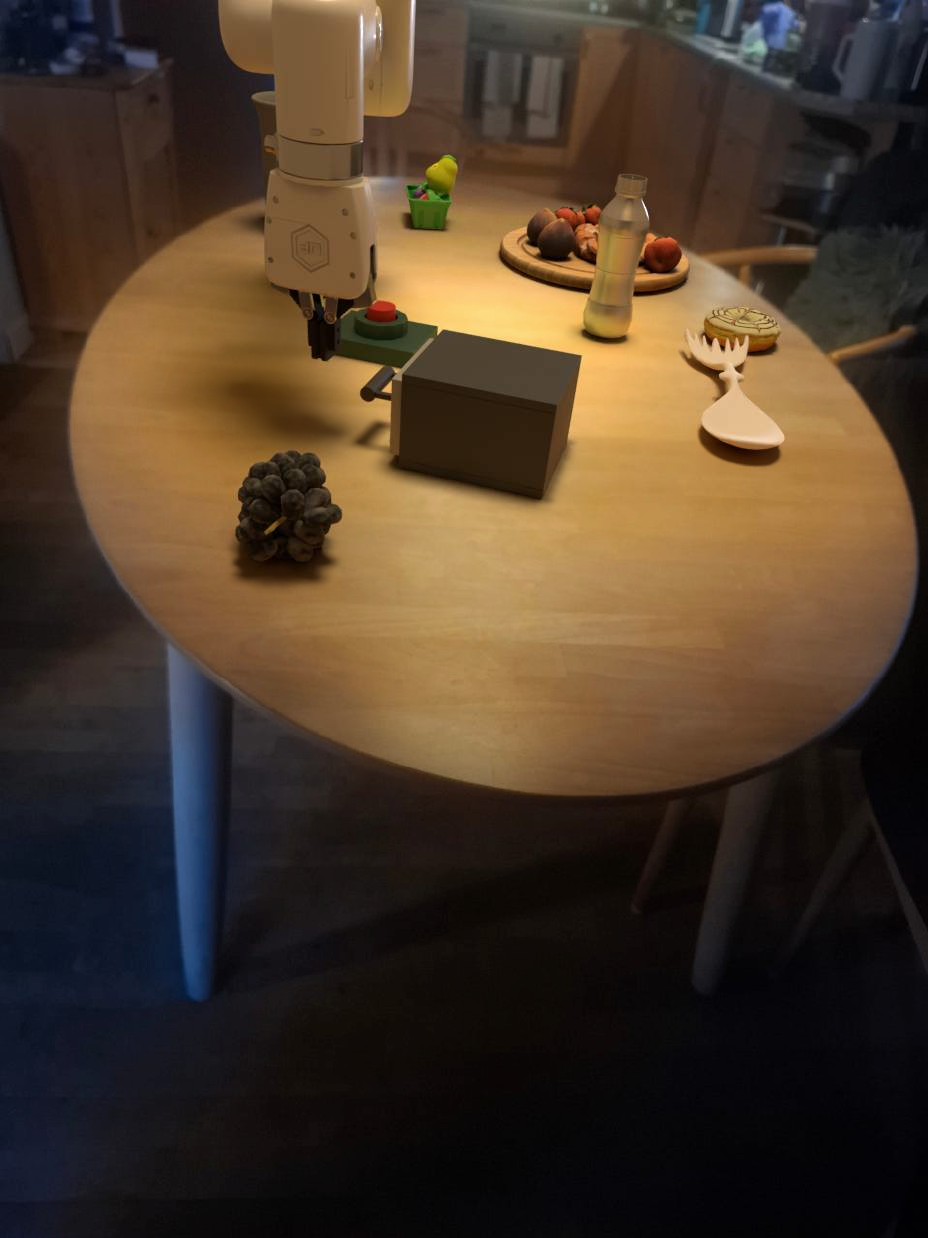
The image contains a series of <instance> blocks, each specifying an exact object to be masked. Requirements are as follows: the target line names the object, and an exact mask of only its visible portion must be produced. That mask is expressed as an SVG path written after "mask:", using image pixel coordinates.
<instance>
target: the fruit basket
mask: <svg viewBox="0 0 928 1238" xmlns="http://www.w3.org/2000/svg"><path fill="white" fill-rule="evenodd" d="M456 161H457V159H456V158H455V157H453V156H452V155H451V154H445V155H443V156H442V157H440V160H439V161H438V162H436V163H434V164H432V165H431V166H429V167H428V168H427V169H426V171H425V176H426V180H427V181H426V182H424V181H422V182H421V184H405V190H406V195H407V199H408V204H409V210H410V215H411V220H412V224H413V228H414V229H424V230H443V229H444V226H445V223H446V218H447V215H448V212H449V209H450V207H451V204H452V201H453V200H452V198H451V195H450V193H452V191H453V190H454V188H455V185H456V178H457V174H458V171H459V170H458V169H459V168H458V164H457V163H456Z"/></svg>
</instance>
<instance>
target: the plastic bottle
mask: <svg viewBox="0 0 928 1238" xmlns="http://www.w3.org/2000/svg"><path fill="white" fill-rule="evenodd" d="M647 184H648V178H647V177H646V176H643V175H638V174H634V173H633V174H632V173H620V174H618V176H617V180H616V185H615V187H614V193H616V194H615V197H613V198H612V199H611V201H609V202H608V203H607V205H605V207H604V208H603V210H601V215H600V217H599V222H598V249H597V258H596V262H597V264H596V267H595V274H594V278H593V282H592V287H591V289H590V291H589V296H588V297H587V300H586V303H585V306H584V309H583V312H582V314H583V317H582V318H583V326H584V329H585V330H586V332H588V333H589V334H591V335H594V336H597V337H600V338H605V339H606V338H607V339H615V338H616V339H618V338H621V337H623V336H625V334H626V333H627V332H628V331H629V329H630V327H631V324H632V320H633V310H634V309H633V308H634V305H633V298H634V292H633V291H634V282H635V276H636V272H637V270H636V269H637V267H638V263H639V259H640V255H641V252H642V249H643V246H644V243H645V240H646V237H647V234H649V230H650V226H651V224H650V216H649V213H648V210H647V207H646V206H645V203H644V201H643V197H645V196H646V194H647Z"/></svg>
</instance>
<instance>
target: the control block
mask: <svg viewBox="0 0 928 1238" xmlns="http://www.w3.org/2000/svg"><path fill="white" fill-rule="evenodd" d="M438 332H439V326H438V325H433V324H429V323H423V322H417V321H412V320H409V318H408V316H407V314H406V313H405V312H402V311H400V310H398V309H396V320H395V321H392V322H375V321H370V320H368V319H367V308H359V309H358V310H355V309H350V310H349V311H348V312H346V313H345V314H344V315H343V316H341V347H340V349H339V351H337V353H336V354H335V355H334V356H340V357H344V358H349V359H355V360H358V361H364V362H368V363H369V362H370V363H374V364H379V365H383V366H390V367H395V368H400V369H402V367H403V366H404V365H405V364H406V363H407V362H408V361H409V360H410V359H411V358H412V357H413V356H414V355H415V354H416V352H417V351H418V350H419V349H420V348H421V347H422V346H423V345H424V344H425V343H426V342H427V341H428V340H429V338H432V339H435V338H436V337H437V335H438V334H439V333H438Z"/></svg>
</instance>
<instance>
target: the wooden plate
mask: <svg viewBox="0 0 928 1238" xmlns="http://www.w3.org/2000/svg"><path fill="white" fill-rule="evenodd" d="M601 213H602V209H601V208H600V207H599V206H597V204H593V203H588V204H585V205H583V206H582V207H581V210H579V209H577V208H574V207H573V206H572V207H571V206H570V207H568V206H563V205H562V206H561V207H560V208H559V209H557V210H555V211H551V210H550V209H549V208H548V207H545V208H543V209H541V210H539V211H538V212H536V213H535V214H534V215H533V216H532V217H531V219H530V220H529V221H528V224H527V226H524V227H520V228H516V229H514V230H512V231H510V232H508V233H506V235H504V236H503V237H502V239H501V241H500V244H499V251H500V255H501V257H502V258H503V259H504V261H505V262H506V263H508V264H509V265H510V266H511V267H513V268H515V269H517V270H519V271H520V272H522V273H525V274H527V275H530V276H531V277H535V278H538V279H540V280H542V281H547V282H550V283H553V284H558V285H562V286H567V287H572V288H577V289H585V290H591V287H592V282H593V278H594V274H595V267H596V264H597V262H596V258H597V249H598V222H599V217H600V215H601ZM682 251H683V250H682V249H681V247H680V245H679V241H678V240H677V239H674V238H672V237H670V236H668V235H667V236H665V237H663V236H656V235H655V234H653V233H648V234H647V237H646V240H645V243H644V246H643V249H642V252H641V255H640V259H639V263H638V267H637V269H636V270H637V272H636V276H635V282H634V291H633V293H637V292H641V293H642V292H652V291H659V290H665V289H667V288H671V287H674V286H677V285H678V284H680V283H681V282H683V281H684V280H685V279H686V278H687V277H688V275H689V273H690V269H691V268H690V267H691V265H690V261H689V259H688V258H687V256H686V255H685V254H684V253H683V252H682Z"/></svg>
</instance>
